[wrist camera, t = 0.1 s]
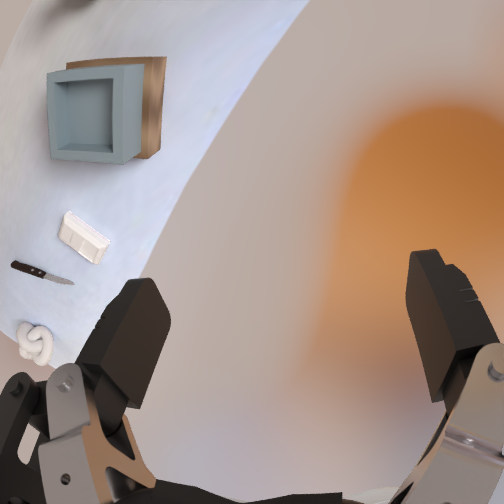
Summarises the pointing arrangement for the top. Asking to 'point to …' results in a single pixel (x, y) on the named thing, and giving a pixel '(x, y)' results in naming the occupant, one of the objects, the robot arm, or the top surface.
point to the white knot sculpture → (35, 343)
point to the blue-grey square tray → (95, 113)
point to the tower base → (150, 98)
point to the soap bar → (83, 238)
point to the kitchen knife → (39, 273)
